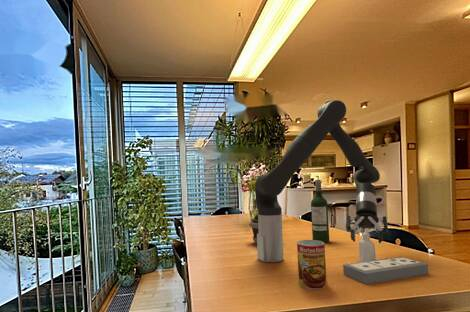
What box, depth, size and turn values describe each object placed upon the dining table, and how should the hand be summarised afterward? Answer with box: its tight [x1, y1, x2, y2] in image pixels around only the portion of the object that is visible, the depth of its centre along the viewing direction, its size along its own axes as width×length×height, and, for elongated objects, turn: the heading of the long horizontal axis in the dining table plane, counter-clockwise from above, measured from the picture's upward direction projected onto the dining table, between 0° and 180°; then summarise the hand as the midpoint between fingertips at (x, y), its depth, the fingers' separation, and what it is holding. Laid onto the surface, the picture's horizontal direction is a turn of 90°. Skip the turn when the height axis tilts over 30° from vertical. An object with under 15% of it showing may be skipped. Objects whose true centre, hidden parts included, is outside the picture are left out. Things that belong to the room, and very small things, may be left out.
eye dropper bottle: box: [358, 229, 377, 263], centre depth 107 cm, size 4×6×12 cm
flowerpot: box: [248, 212, 259, 245], centre depth 147 cm, size 14×15×20 cm
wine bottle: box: [310, 179, 330, 244], centre depth 148 cm, size 8×8×30 cm
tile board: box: [342, 256, 429, 285], centre depth 96 cm, size 24×10×3 cm, turn 108°
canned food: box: [296, 239, 328, 290], centre depth 89 cm, size 8×8×12 cm
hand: (366, 241), depth 108 cm, fingers open, 8 cm apart
